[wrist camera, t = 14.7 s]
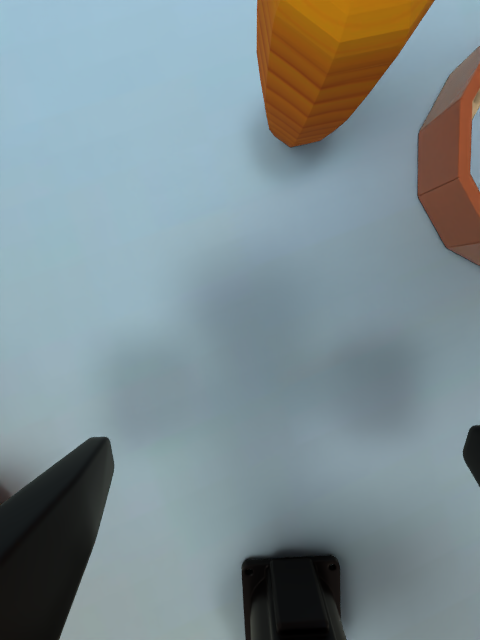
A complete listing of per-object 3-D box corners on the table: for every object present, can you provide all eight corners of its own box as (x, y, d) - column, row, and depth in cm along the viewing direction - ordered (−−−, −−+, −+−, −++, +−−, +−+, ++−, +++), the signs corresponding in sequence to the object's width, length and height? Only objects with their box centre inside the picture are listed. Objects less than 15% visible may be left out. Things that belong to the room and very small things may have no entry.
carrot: (229, 124, 18) (197, -587, 3) (303, 72, 18) (631, -965, 3) (276, 199, 19) (431, -122, 4) (348, 150, 18) (821, -404, 4)
